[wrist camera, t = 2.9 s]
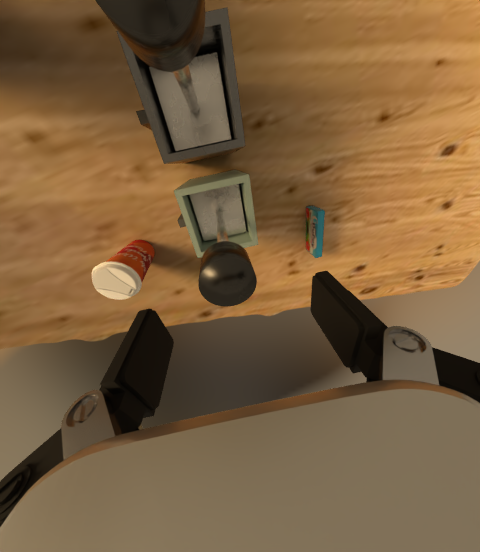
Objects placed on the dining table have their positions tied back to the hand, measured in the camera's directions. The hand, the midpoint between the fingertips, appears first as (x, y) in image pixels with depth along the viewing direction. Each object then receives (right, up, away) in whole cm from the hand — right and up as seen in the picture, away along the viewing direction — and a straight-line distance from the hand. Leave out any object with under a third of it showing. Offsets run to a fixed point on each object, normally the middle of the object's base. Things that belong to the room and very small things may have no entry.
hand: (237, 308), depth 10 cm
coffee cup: (-25, +9, +34) cm, 43 cm away
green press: (-5, +20, +30) cm, 36 cm away
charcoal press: (-7, +30, +23) cm, 39 cm away
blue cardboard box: (+19, +15, +37) cm, 44 cm away
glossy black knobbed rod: (-3, +12, +19) cm, 23 cm away
